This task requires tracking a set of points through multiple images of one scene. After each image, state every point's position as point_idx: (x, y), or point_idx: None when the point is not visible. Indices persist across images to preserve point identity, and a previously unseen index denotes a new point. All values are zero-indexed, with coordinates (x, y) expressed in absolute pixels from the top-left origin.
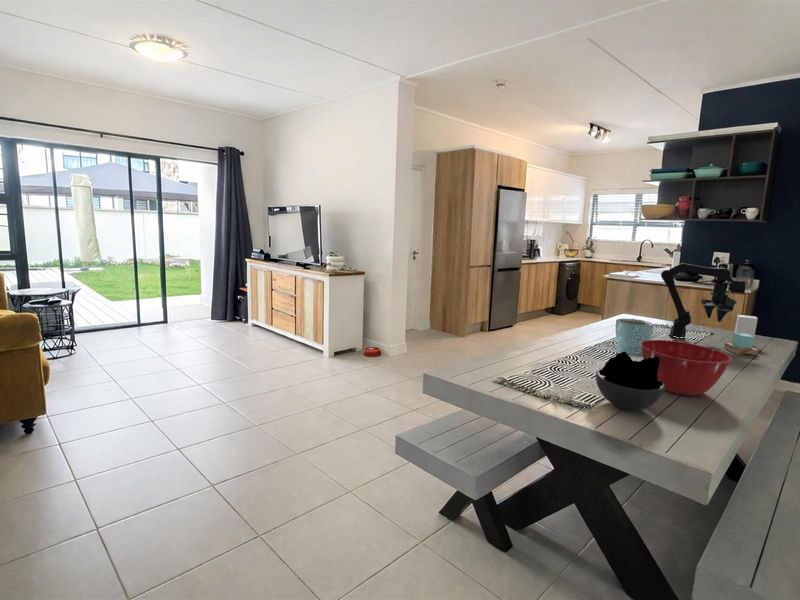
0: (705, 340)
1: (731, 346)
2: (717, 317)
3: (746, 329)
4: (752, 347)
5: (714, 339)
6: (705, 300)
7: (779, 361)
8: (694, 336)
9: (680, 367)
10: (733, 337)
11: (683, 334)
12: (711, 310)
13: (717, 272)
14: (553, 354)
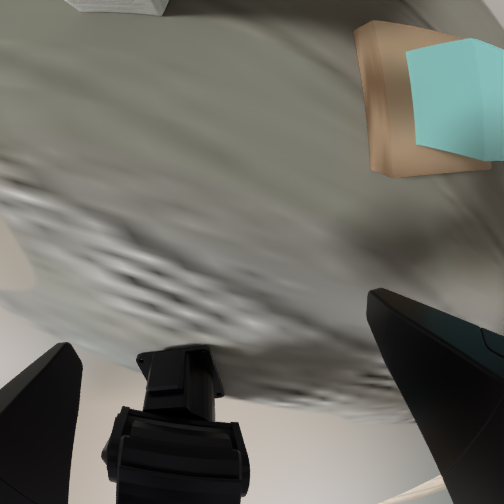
0: (156, 219)
1: (449, 170)
2: (412, 388)
3: None
4: (444, 37)
5: (74, 133)
6: None
7: (494, 18)
8: (66, 261)
9: None
10: (458, 152)
11: (191, 372)
12: (4, 450)
13: None
14: (439, 478)
